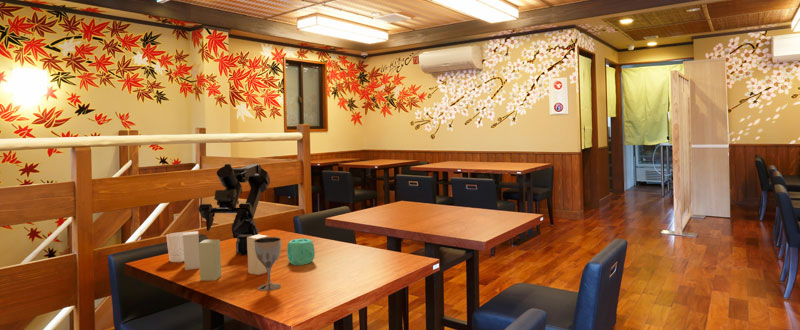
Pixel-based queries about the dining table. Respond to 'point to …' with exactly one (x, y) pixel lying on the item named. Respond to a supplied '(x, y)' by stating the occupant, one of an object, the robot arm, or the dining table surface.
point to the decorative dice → (300, 251)
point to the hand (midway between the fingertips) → (220, 230)
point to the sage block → (210, 259)
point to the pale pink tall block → (191, 250)
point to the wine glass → (268, 257)
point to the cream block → (254, 256)
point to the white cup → (175, 247)
